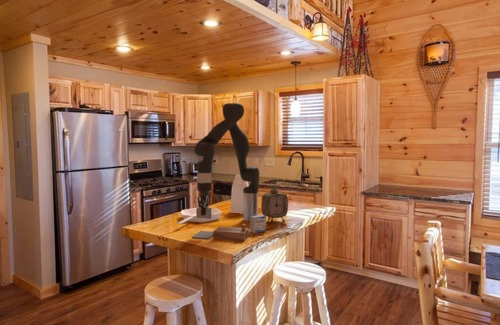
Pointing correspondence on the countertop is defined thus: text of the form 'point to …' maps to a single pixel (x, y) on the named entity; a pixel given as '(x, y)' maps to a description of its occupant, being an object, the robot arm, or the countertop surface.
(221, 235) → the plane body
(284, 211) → the tabletop clock
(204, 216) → the lever cap
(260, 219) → the medicine box
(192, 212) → the pan
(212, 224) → the countertop surface
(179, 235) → the countertop surface
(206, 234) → the rubber mat
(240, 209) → the milk
